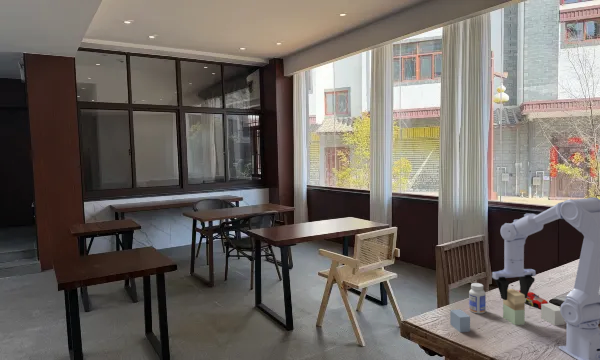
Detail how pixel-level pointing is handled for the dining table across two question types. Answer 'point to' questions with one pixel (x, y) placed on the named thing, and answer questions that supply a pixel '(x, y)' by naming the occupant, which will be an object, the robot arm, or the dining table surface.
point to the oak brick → (515, 300)
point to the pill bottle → (477, 298)
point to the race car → (534, 300)
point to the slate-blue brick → (460, 320)
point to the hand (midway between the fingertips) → (513, 298)
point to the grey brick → (551, 314)
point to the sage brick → (514, 315)
